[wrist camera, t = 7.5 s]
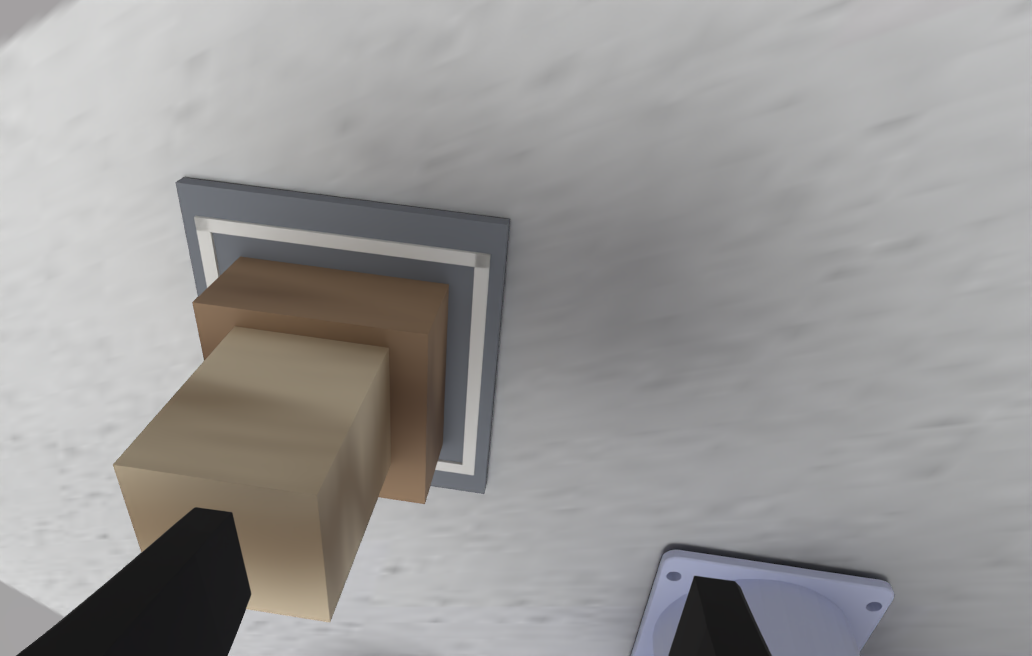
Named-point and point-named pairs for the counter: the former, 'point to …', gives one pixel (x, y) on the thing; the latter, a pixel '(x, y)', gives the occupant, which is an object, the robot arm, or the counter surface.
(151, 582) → the robot arm
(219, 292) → the walnut base
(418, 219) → the grey flat square plate
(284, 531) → the maple block
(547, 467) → the counter surface
